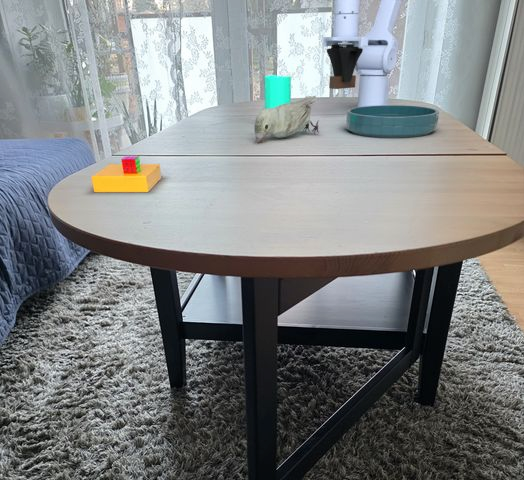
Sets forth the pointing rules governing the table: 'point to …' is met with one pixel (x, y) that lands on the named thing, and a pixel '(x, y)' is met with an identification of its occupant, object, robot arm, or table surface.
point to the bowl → (392, 121)
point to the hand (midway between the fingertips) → (342, 81)
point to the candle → (277, 90)
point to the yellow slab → (127, 176)
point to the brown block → (341, 82)
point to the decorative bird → (285, 119)
